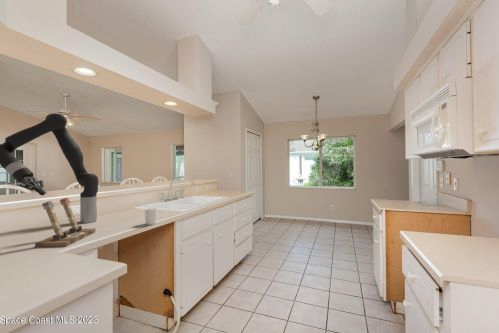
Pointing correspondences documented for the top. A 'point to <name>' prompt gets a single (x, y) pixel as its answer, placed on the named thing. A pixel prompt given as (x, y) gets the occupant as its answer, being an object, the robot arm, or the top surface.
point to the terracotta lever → (69, 212)
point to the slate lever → (53, 217)
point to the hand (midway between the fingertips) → (44, 194)
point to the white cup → (151, 216)
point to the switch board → (65, 238)
